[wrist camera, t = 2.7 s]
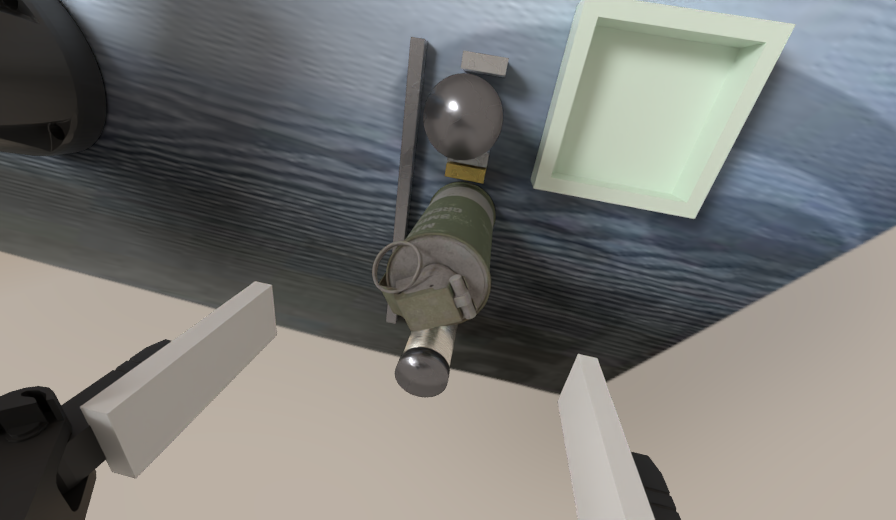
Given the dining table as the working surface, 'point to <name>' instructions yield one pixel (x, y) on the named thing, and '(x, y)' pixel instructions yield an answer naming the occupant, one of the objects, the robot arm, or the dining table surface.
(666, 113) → the tray
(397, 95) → the dining table surface
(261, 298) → the robot arm
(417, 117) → the fuse rail
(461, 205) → the grenade
